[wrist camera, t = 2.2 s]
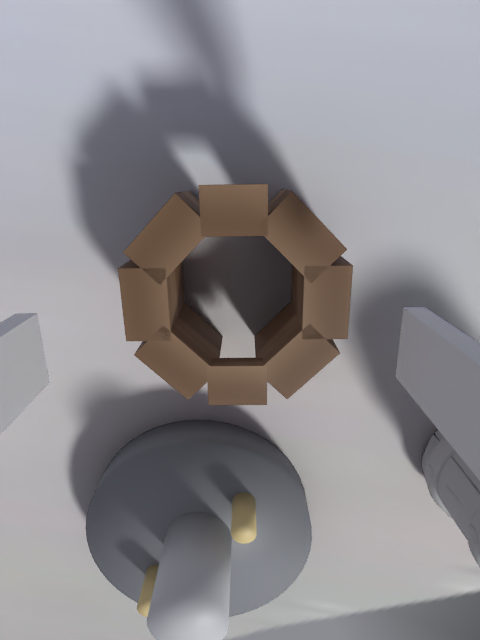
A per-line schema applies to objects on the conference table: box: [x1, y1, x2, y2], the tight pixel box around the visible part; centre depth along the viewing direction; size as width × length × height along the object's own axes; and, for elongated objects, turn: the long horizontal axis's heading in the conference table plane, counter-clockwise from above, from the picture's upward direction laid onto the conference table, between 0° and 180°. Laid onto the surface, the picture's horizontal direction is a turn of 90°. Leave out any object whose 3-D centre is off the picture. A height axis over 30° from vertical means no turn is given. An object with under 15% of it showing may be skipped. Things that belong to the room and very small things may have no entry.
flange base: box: [86, 420, 312, 640], centre depth 26 cm, size 15×15×8 cm
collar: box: [118, 184, 353, 405], centre depth 22 cm, size 11×11×5 cm
